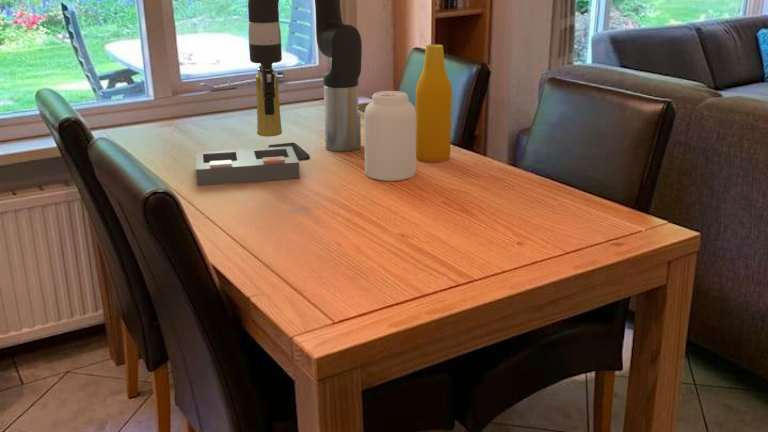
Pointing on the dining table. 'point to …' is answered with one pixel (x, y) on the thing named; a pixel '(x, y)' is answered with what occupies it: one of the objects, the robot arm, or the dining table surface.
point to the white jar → (390, 137)
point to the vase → (268, 123)
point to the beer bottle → (433, 108)
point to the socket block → (246, 165)
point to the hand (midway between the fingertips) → (268, 111)
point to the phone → (297, 150)
